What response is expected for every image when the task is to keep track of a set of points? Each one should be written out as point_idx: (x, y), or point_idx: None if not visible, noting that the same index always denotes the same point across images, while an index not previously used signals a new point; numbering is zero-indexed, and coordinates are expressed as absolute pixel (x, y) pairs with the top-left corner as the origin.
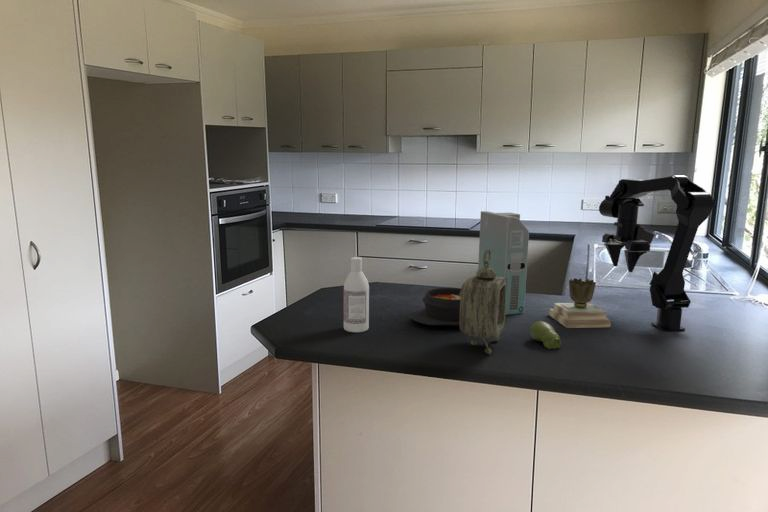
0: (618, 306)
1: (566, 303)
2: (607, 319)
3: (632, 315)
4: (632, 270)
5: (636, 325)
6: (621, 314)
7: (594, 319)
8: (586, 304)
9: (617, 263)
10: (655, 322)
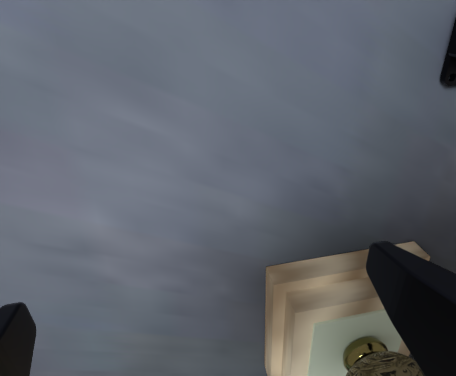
0: (121, 104)
1: (297, 372)
2: None
3: (296, 103)
4: (399, 254)
5: (425, 149)
6: (275, 148)
7: None
8: (385, 348)
9: (8, 331)
10: (450, 64)
